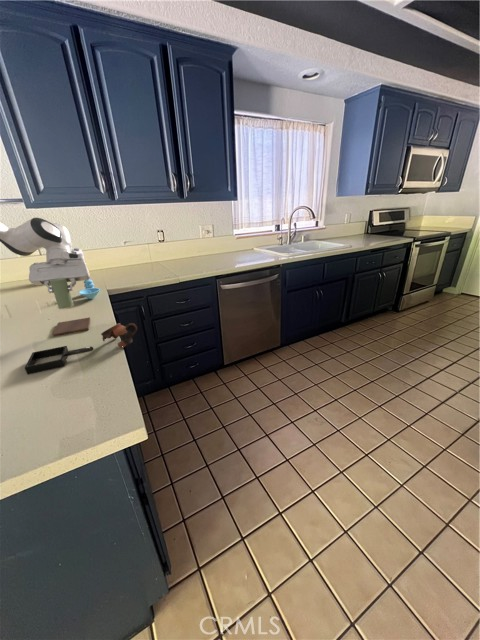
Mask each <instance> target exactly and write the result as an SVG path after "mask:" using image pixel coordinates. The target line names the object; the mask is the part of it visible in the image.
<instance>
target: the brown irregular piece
mask: <svg viewBox="0 0 480 640" xmlns="http://www.w3.org/2000/svg"><path fill="white" fill-rule="evenodd" d="M130 328H132V330H131V331H130ZM137 330H138V326H137V325H136V324H135V323H133V322H131V323H128V324H126V325H122V324H121V322H118V323H116V324H115V325H113V326H111V327H109V328H108V329H105V330H104V331H102V332H101V333H100V336H102V342H105V340H106V339H112V338H113V339H115V340H116V339H118V338H120V339H121V341H119V342H117V346H118V347H119V348H120V349H124V348H125V347H127V346H128V345H130V344H132V343H133V342H134V341H133V337H134V336H135V334H136V333H137ZM122 346H123V347H122Z"/></svg>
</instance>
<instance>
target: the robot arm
mask: <svg viewBox="0 0 480 640" xmlns="http://www.w3.org/2000/svg"><path fill="white" fill-rule="evenodd" d="M0 243H1V244H2V245H3V246H4V247H6V248H7V250H9V251H10V252H11V253H13V254H15V255H18V256H21V257H28V256H31V255H32V254H34V253H35V252H37V251H38V250H40V249H42V248H43V249H45V251H46V252H45V257H46V261H41V262H33V264H31V265H29V272H28V281H29V282H30V283H31V284H32V285H34V286H42V285H43V286H46V287H47V292H48V293H49V294H54V292H53V289H52V286H51V283H50V280H51V279H56V278H66V281H67V283H70V284H68V290H69V291H70V292H73V291H74V287H75V286H76V284H77V282H84V281H85V280H89V279H91V273H90V269H89V268H88V266H87V262H86V259H85V257H84V258H83V257H82V256H81V255H80V254H75V253H72V252H71V249H72V248H73V244H72V243H73V241H72V236H71V233H70V231H69V229H68V228H67V227H66V226H65V225H63V224H60V223H57V222H53V223H52V222H50V221H49V220H46V219H44V218H41V217H33V218H30V219H28V220H27V221H25V222H23V223H22V224H20V225H18V226H16V227H8V226H7V225H6V224H4V223H3V222H1V221H0ZM84 259H85V260H84Z"/></svg>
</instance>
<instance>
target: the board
mask: <svg viewBox="0 0 480 640" xmlns="http://www.w3.org/2000/svg"><path fill="white" fill-rule="evenodd" d="M90 325H91V317H84V318H78V319H71V320H66V321H59V322H57V324H56V326H55V329H54V331H53V333H52V336H53V337H59V335H60V336H65V335H69V333H71V334H75V333H74V332H76V333H81V332H86V331H89V330H90ZM64 334H65V335H64Z"/></svg>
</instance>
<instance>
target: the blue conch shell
mask: <svg viewBox="0 0 480 640" xmlns="http://www.w3.org/2000/svg"><path fill="white" fill-rule="evenodd" d="M83 284H84V285H83V286H84V288H83V289H81V290H79V291H78V295H81V296H82V297H84V298H86V299H88V300H94V299H95V298H96V297H97V296H98V294H99V293H100V291H101V288H99V287H95V283H94V281H93V279H91V278H89V280H84V281H83Z"/></svg>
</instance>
